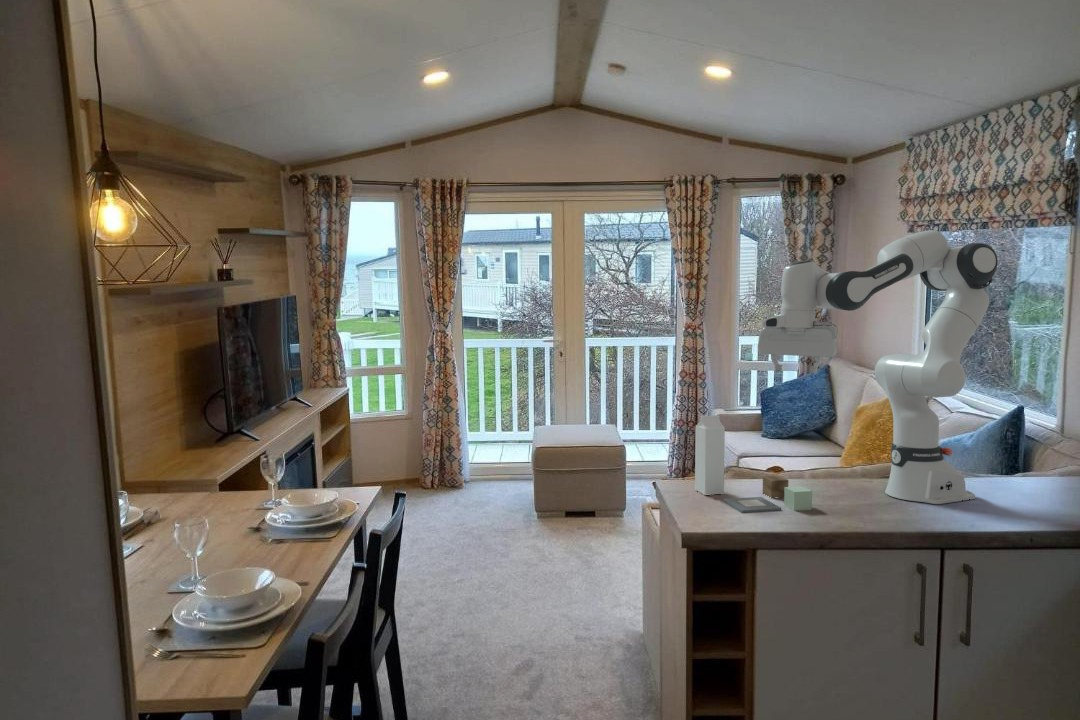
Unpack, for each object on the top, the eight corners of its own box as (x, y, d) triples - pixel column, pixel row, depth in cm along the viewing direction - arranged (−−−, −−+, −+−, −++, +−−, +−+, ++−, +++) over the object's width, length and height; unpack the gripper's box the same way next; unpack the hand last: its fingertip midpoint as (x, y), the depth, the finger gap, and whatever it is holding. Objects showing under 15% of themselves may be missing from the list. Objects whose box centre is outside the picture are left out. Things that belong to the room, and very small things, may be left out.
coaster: (761, 498, 198) (761, 496, 198) (781, 510, 187) (781, 507, 187) (723, 501, 196) (723, 498, 196) (741, 512, 185) (741, 510, 185)
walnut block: (779, 493, 204) (779, 475, 204) (788, 497, 199) (788, 479, 199) (762, 494, 203) (762, 476, 203) (771, 498, 198) (771, 480, 198)
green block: (801, 504, 192) (801, 486, 192) (811, 509, 187) (812, 491, 187) (784, 505, 191) (784, 487, 191) (794, 511, 187) (794, 492, 186)
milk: (724, 494, 203) (725, 416, 201) (704, 496, 201) (706, 417, 199) (713, 489, 209) (714, 413, 207) (694, 490, 207) (695, 414, 205)
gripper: (841, 321, 191) (839, 373, 192) (764, 320, 203) (763, 369, 204) (834, 322, 185) (832, 375, 187) (756, 320, 198) (755, 371, 199)
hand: (795, 372), depth 195 cm, fingers open, 8 cm apart
